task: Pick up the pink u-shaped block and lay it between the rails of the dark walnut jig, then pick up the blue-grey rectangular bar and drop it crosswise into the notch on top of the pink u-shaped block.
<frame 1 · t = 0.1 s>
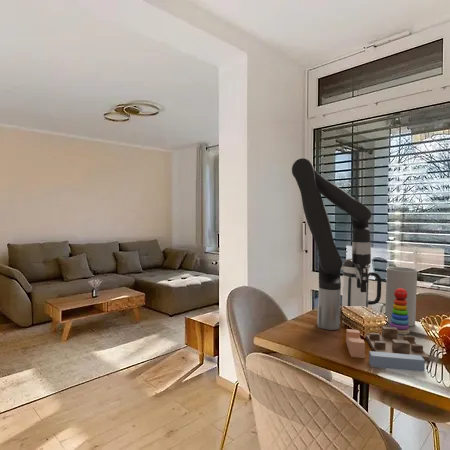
hand: (361, 289, 154), 17 cm above the table, tool pointing down, fingers open, 8 cm apart
stacking toy: (399, 332, 152), on the table
coffee press: (356, 314, 179), on the table
jig: (394, 348, 133), on the table
blue-grey rectangular bar: (395, 367, 117), on the table
cylinder vase: (399, 323, 165), on the table
pink u-shaped block: (354, 350, 131), on the table
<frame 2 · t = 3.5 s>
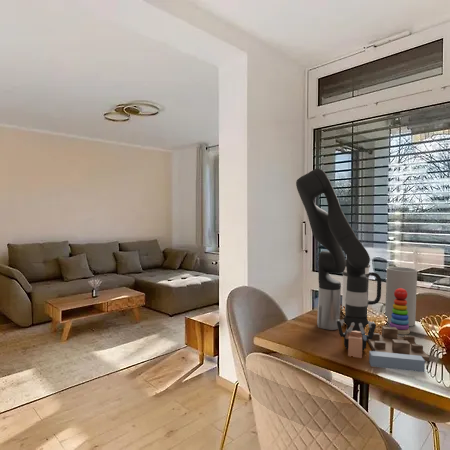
hand: (354, 348, 131), 0 cm above the table, tool pointing down, fingers closed on pink u-shaped block, 5 cm apart
pink u-shaped block: (354, 349, 131), on the table, touching gripper
everything else where it was.
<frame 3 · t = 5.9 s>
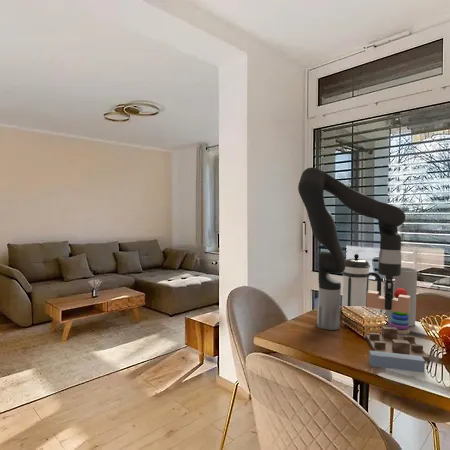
hand: (387, 307, 131), 16 cm above the table, tool pointing down, fingers closed on pink u-shaped block, 5 cm apart
pink u-shaped block: (387, 308, 131), point 15 cm above the table, touching gripper
everything else where it was.
when the fingers open (2 cm above the table, at t = 8.6 s): pink u-shaped block stays where it is, resting on jig.
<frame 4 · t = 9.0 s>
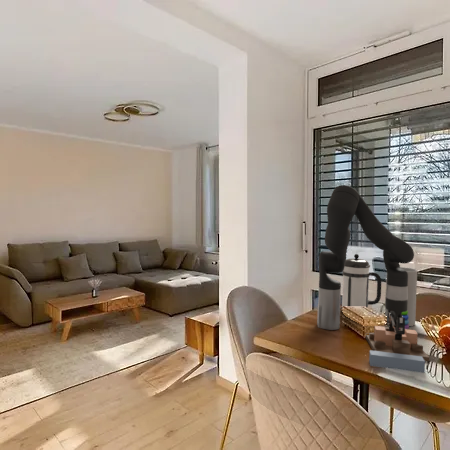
hand: (394, 340, 133), 3 cm above the table, tool pointing down, fingers open, 8 cm apart
pink u-shaped block: (394, 344, 133), point 1 cm above the table, touching jig
everything else where it was.
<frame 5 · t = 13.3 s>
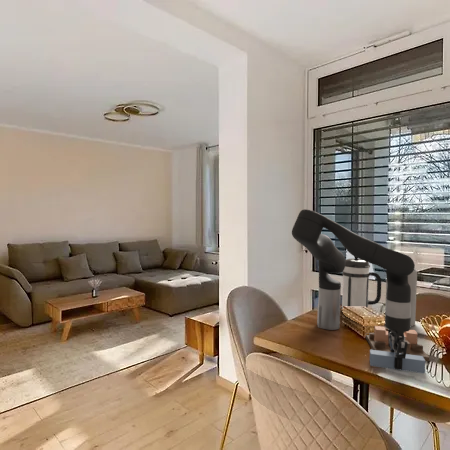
hand: (396, 365, 117), 0 cm above the table, tool pointing down, fingers closed on blue-grey rectangular bar, 4 cm apart
blue-grey rectangular bar: (396, 366, 117), on the table, touching gripper
everything else where it was.
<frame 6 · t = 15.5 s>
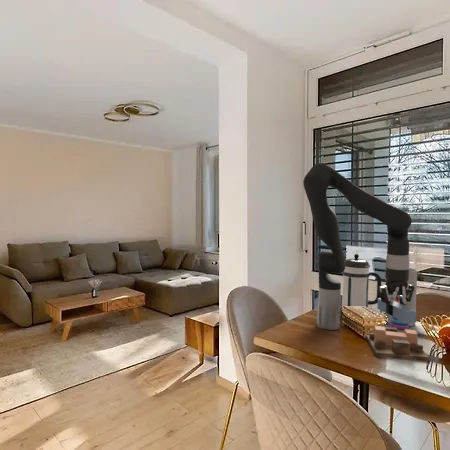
hand: (395, 313, 128), 14 cm above the table, tool pointing down, fingers closed on blue-grey rectangular bar, 4 cm apart
blue-grey rectangular bar: (395, 315, 128), point 14 cm above the table, touching gripper
everything else where it was.
when the fingers open (8 cm above the table, at t = 17.7 s): blue-grey rectangular bar drops 2 cm, resting on pink u-shaped block.
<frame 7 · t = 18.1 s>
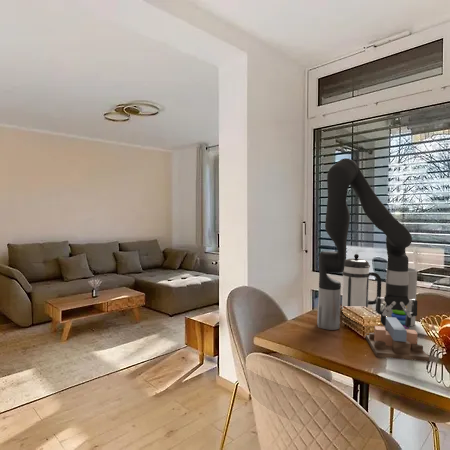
hand: (395, 325, 133), 8 cm above the table, tool pointing down, fingers open, 7 cm apart
blue-grey rectangular bar: (394, 333, 133), point 5 cm above the table, touching pink u-shaped block
pink u-shaped block: (394, 344, 133), point 1 cm above the table, touching jig, blue-grey rectangular bar
everything else where it was.
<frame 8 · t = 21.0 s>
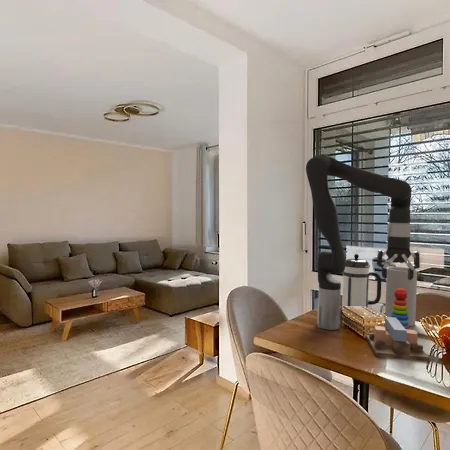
hand: (397, 278, 132), 26 cm above the table, tool pointing down, fingers open, 8 cm apart
nothing on the table moved.
at the end: pink u-shaped block 0.0 cm off-centre on the jig, point 1.5 cm above the jig's base; blue-grey rectangular bar 0.1 cm off-centre on the jig, point 5.5 cm above the jig's base; blue-grey rectangular bar touching pink u-shaped block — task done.
